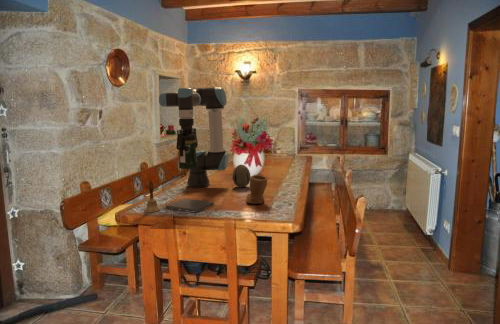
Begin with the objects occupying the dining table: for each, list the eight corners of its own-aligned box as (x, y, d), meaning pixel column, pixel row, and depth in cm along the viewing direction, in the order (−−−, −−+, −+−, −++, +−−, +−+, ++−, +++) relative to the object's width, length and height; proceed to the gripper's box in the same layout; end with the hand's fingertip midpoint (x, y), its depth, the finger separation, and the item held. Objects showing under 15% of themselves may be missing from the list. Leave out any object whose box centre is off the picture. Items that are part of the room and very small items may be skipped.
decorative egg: (254, 186, 251) (254, 164, 248) (241, 190, 242) (241, 166, 240) (241, 184, 259) (241, 162, 256) (229, 187, 250) (228, 164, 248)
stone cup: (267, 205, 206) (266, 178, 204) (245, 205, 207) (244, 178, 204) (268, 198, 221) (267, 172, 218) (247, 198, 222) (247, 172, 219)
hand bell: (145, 208, 204) (143, 179, 202) (161, 207, 205) (159, 178, 202) (142, 212, 196) (140, 182, 194) (159, 212, 197) (157, 181, 194)
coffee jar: (199, 167, 206) (198, 132, 203) (195, 169, 199) (193, 133, 196) (182, 166, 208) (180, 132, 205) (177, 169, 200) (175, 134, 197)
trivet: (165, 208, 204) (165, 205, 204) (183, 201, 218) (183, 198, 218) (196, 212, 195) (196, 209, 195) (213, 204, 209) (213, 202, 209)
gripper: (179, 119, 188) (181, 164, 192) (203, 117, 207) (205, 158, 210) (167, 119, 191) (169, 163, 195) (192, 117, 210) (193, 158, 214)
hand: (188, 161), depth 203 cm, fingers closed on coffee jar, 8 cm apart
